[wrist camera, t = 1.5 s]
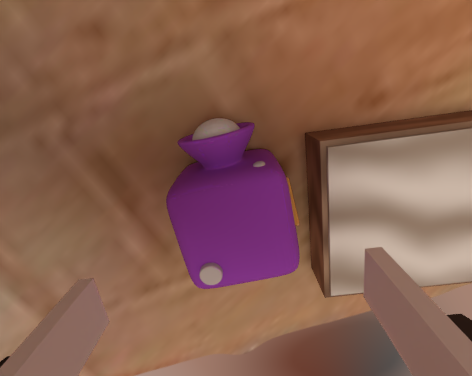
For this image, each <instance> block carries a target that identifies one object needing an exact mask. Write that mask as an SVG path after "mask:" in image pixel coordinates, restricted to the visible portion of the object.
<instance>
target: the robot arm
mask: <svg viewBox="0 0 472 376" xmlns="http://www.w3.org/2000/svg"><path fill="white" fill-rule="evenodd" d="M364 298H365V300H366V301H367V303H368V304H369V306H370V308H371V309H372V311H373V312H374V314H375V316H376V317H377V319H378V321H379V322H380V324H381V325H382V327H383V329H384V330H385V332H386V333H387V335H388V337H389V338H390V340H391V341H392V343H393V345H394V346H395V348H396V350H397V351H398V353H399V354H400V356H401V357H402V359H403V361H404V362H405V364H406V366H407V367H408V369H409V370H410V372H411V374H412V375H413V376H472V320H470V319H469V318H467V317H466V316H463V315H462V314H453V315H445V313H444V312H443V311H442V310H441V309H440V308H439V307H438V306H437V305H436V304H435V302H434V301H433V300H432V299H431V298H430V297H429V296H428V295H427V294H426V293H425V292H424V291H423V290H422V289H421V288H420V287H419V286H418V285H417V284H416V282H415V281H414V280H413V279H412V278H411V277H410V276H409V275H408V274H407V273H406V272H405V271H404V270H403V269H402V268H401V267H400V266H399V265H398V264H397V262H396V261H395V260H394V259H393V258H392V257H391V256H390V255H389V254H388V253H387V252H386V251H385V250H384V249H383V248H382V247H376V248H367V249H365V260H364ZM108 323H109V319H108V316H107V314H106V311H105V308H104V306H103V303H102V300H101V298H100V295H99V292H98V290H97V287H96V284H95V281H94V279H93V278H89V279H80V280H78V281H77V282H76V283H75V284H74V285H73V286H72V287H71V289H70V290H69V291H68V292H67V293H66V294H65V295H64V296H63V298H62V299H61V300H60V301H59V302H58V303H57V304H56V305H55V307H54V308H53V309H52V310H51V311H50V312H49V313H48V314H47V316H46V317H45V318H44V319H43V320H42V321H41V322H40V323H39V325H38V326H37V327H36V328H35V329H34V330H33V331H32V332H31V334H30V335H29V336H28V337H27V338H26V339H25V340H24V342H23V343H22V344H21V345H20V346H19V347H18V348H17V349H16V351H15V352H14V353H13V354H12V355H11V356H7V357H6V358H5V359H3V360H2V361H1V362H0V376H78V375H79V373H80V371H81V369H82V368H83V366H84V364H85V363H86V361H87V359H88V357H89V356H90V354H91V352H92V351H93V349H94V347H95V345H96V344H97V342H98V340H99V339H100V337H101V335H102V333H103V332H104V330H105V328H106V327H107V325H108Z"/></svg>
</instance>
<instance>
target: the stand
mask: <svg viewBox="0 0 472 376" xmlns="http://www.w3.org/2000/svg"><path fill="white" fill-rule="evenodd" d="M305 141H306V161H307V182H308V203H309V223H310V244H311V265H312V269H313V272H314V274H315V276H316V279H317V281H318V283H319V285H320V288H321V290H322V292H323V295H324V297H325V298H326V297H335V296H345V295H355V294H364V260H365V249H367V248H376V247H382V248H383V249H384V250H385V251H386V252H387V253H388V254H389V255H390V256H391V257H392V258H393V259H394V260H395V261H396V262H397V264H398V265H399V266H400V267H401V268H402V269H403V270H404V271H405V272H406V273H407V274H408V275H409V276H410V277H411V278H412V279H413V280H414V281H415V282H416V284H417V285H418V286H419V287H420V288H421V287H431V286H440V285H450V284H459V283H469V282H472V110H471V111H464V112H456V113H449V114H442V115H434V116H427V117H420V118H412V119H405V120H397V121H390V122H383V123H375V124H368V125H361V126H353V127H346V128H339V129H331V130H324V131H316V132H309V133H305Z"/></svg>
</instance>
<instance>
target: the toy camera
mask: <svg viewBox="0 0 472 376" xmlns="http://www.w3.org/2000/svg"><path fill="white" fill-rule="evenodd" d="M253 129H254V123H250V122H245V123H237V124H235V123H234V122H233V121H231V120H229V119H224V118H215V119H210V120H207V121H205V122H204V123H202V124H201V125H200V126H198V128H197V129H196V130H195V132H194V134H192V135H189V136H186V137H184V138H182V139H180V140H179V141H178V145H179V146H180V147H181V148H182V149H183V150H184V151H185V152H187V153H188V154H189V155H190V156H192V157H193V158H194V159H196V160H197V161H198V162H196V163H193V164H191V165H189V166H187V167H186V168H185V169H184V170H183V171H182V173H181V174H180V175H179V176H178V178H177V179H176V181H175V182H174V184H173V185H172V187H171V188H170V190H169V192H168V195H167V199H166V203H167V209H168V213H169V217H170V219H171V222H172V225H173V228H174V231H175V234H176V237H177V240H178V243H179V246H180V249H181V252H182V255H183V258H184V261H185V263H186V266H187V269H188V272H189V274H190V277H191V279H192V281H193V282H194V284H195V285H196V286H197V287H199V288H202V289H210V288H218V287H224V286H229V285H235V284H240V283H246V282H251V281H257V280H262V279H268V278H273V277H278V276H282V275H286V274H289V273H291V272H293V271H295V270H296V269H297V267H298V264H299V246H298V240H297V233H296V227H295V226H298V225H300V224H299V219H298V215H297V211H296V206H295V202H294V198H293V194H292V189H291V185H290V181H289V178H288V177H286V176H285V174H284V172H283V170H282V168H281V166H280V165H279V163H278V161H277V160H276V158H275V157H274V155H273V154H272V153H271V152H270V151H268V150H266V149H255V150H249V151H245V149H246V146H247V144H248V142H249V140H250V138H251V135H252V133H253Z"/></svg>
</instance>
